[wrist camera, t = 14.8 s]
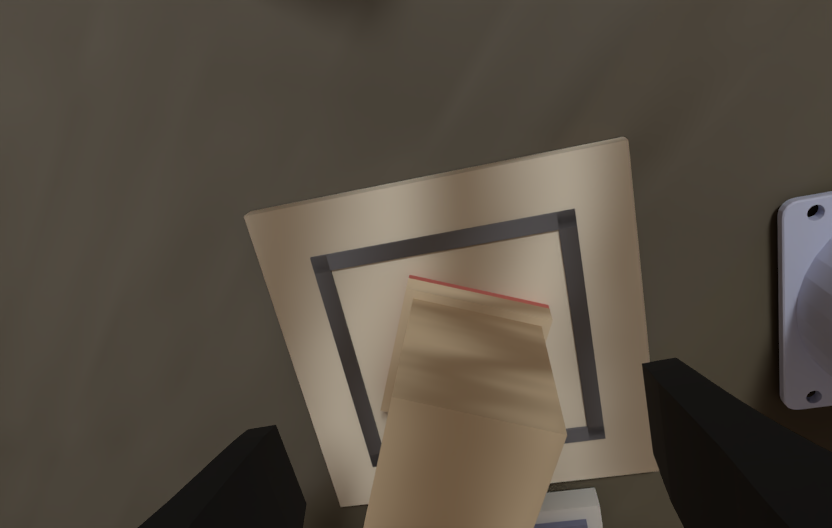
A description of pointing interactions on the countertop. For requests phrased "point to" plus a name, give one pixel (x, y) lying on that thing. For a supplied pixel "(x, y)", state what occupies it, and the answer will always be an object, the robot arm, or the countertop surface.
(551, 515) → the ink pad
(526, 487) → the stamp
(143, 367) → the countertop surface
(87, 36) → the countertop surface
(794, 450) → the robot arm
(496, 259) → the marked board
